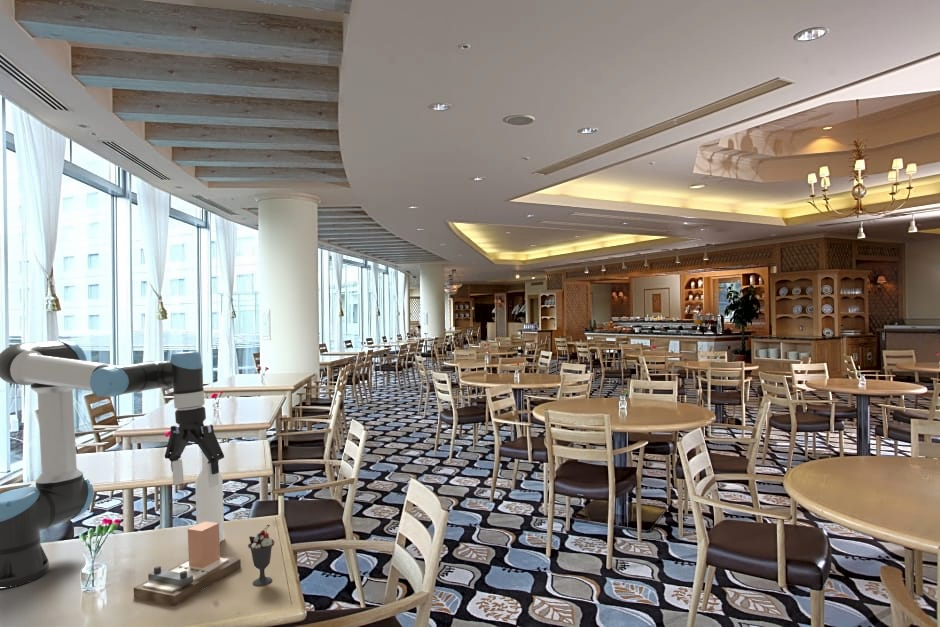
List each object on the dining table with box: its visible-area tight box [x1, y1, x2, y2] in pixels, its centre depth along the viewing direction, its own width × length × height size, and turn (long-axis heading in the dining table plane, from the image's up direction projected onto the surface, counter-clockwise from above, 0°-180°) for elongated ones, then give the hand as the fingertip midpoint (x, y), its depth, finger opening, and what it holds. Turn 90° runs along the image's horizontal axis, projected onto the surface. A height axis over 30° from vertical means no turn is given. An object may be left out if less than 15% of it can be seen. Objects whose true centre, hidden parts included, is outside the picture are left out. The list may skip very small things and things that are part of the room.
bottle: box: [194, 449, 226, 543], centre depth 181 cm, size 8×8×30 cm
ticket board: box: [133, 555, 242, 607], centre depth 154 cm, size 14×22×6 cm, turn 159°
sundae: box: [247, 524, 275, 587], centre depth 153 cm, size 7×7×15 cm
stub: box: [180, 521, 229, 573], centre depth 159 cm, size 10×8×10 cm
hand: (196, 484), depth 159 cm, fingers open, 13 cm apart
